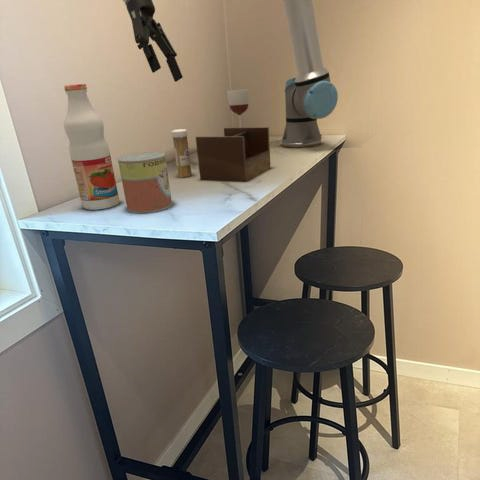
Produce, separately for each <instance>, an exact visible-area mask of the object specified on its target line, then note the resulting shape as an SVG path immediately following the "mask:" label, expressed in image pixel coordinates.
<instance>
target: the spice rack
mask: <svg viewBox="0 0 480 480" xmlns="http://www.w3.org/2000/svg"><path fill="white" fill-rule="evenodd" d="M223 134H224V135H223V136H222V135H221V136H196V137H195V144H196V151H197V161H198V171H199V179H200V181H216V182H217V181H219V182H241V183H242V182H244V183H246V182H247V181H250V180H251V179H253V178H255V177H257V176H259V175H260V174H262V173H264V172H266V171H268V170H270V169H271V145H270V144H271V143H270V127H269V126H262V127H260V126H255V127H254V126H252V127H249V126H248V127H241V128H240V127H224V128H223Z"/></svg>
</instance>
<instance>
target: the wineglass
mask: <svg viewBox="0 0 480 480" xmlns="http://www.w3.org/2000/svg"><path fill="white" fill-rule="evenodd" d="M226 95H227V101H228V106H229V109H230V110H231V112H233V113H234V114H237V115H238V123H239V125H238V126H239V128H242V114H244V113H245V112H247V110H248V109H249V103H250V89H249V88H247V89H245V88H244V89H233V90H227V91H226Z"/></svg>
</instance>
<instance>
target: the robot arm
mask: <svg viewBox="0 0 480 480" xmlns="http://www.w3.org/2000/svg"><path fill="white" fill-rule="evenodd" d="M122 2H123V3H124V5H125V6H126V10H127V13H128V15H129V17H130V20H131V24H132V25H131V26H132V30H133V37H134V41H135V43H136V44H137V49H138V50H142V51H143V53H144V56H145V59H146V61H147V63H148V65H149V68H150V71H151V73H153V74H154V73H156V72H157V71H159V70H161V68H162V67H161V64H160V62H159V59H158V56H157V54H156V52H155V49H154V47H153V44H151V43H150V39H151V41H152V42H154V43H155V44H156V46H157V47H158V48H159V50H160V51H161V53H162V54H163V55H164V57H165V59H166V60H165V61H166V64H167V66H168V69H169V71H170V73H171V76H172V78H173V81H174V82H175V83H177V82H178V81H179V80H181V79H183V78H184V76H183V74H182V71H181V69H180V67H179V64H178V62H177V59H176V57H177V56H178V54H177V52H176V51H175V49H174V47H173V45H172V43H171V42H170V40H169V38H168V36H167V35H166V32H164V29H163V28H162V24H161V23H160V22H157V21H156V20H155V19H154V15H155V13H156V7H155V4H154V2H153V0H123V1H122ZM282 2H283V5H284V11H285V16H286V21H287V26H288V31H289V36H290V42H291V47H292V52H293V56H294V62H295V67H296V73H297V76H296V77H292V78H289V79H287V80H286V81H285V85H284V96H285V98H284V101H285V103H284V104H285V127H284V130H283V132H282V135H281V137H282V138H281V146H282V147H284V148H290V149H291V148H293V149H294V148H295V149H296V148H299V149H300V148H310V147H316V146H320V145H322V135H323V134H321V132H320V129H319V125H318V120H320V119H324V118H327V117H329V115H331V114H332V113H333V112H334V110H335V108H336V107H337V103H338V99H339V95H338V94H339V93H338V90H337V88H336V86H335V85H334V84H333V83H332V82H331V77H330V72H329V70H328V69H327V68H325V67H324V64H323V58H322V51H321V46H320V41H319V35H318V29H317V23H316V18H315V17H316V16H315V11H314V5H313V0H283V1H282Z"/></svg>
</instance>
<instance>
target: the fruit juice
mask: <svg viewBox="0 0 480 480" xmlns="http://www.w3.org/2000/svg"><path fill="white" fill-rule="evenodd" d="M63 87H64V92H65V94H66V96H67V111H66V116H65V118H64V121H63V128H64V132H65V135H66V136H67V138H68V141H69V145H68V150H69V156H70V160H71V164H72V168H73V172H74V175H75V181H76V185H77V189H78V194H79V197H80V202H81V205H82V206H83V208H84V209H85V210H88V211H89V210H90V211H94V210H95V211H97V210H105V209H110V208H114V207H115V206H118V205H119V203H120V197H119V190H118V186H117V181H116V176H115V171H114V166H113V162H112V157H111V151H110V147H109V144H108V142H107V140H106V139H105V125H104V122H103V121H104V120H103V119H102V117H101V116H100V115H99V114H98V112H96V110H95V108H94V107H93V105H92V103H91V101H90V99H89V98H88V97H89V96H88V94H87V93H88V87H87V85H86V83H80V84H79V83H78V84H67V85H64V86H63Z"/></svg>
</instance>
